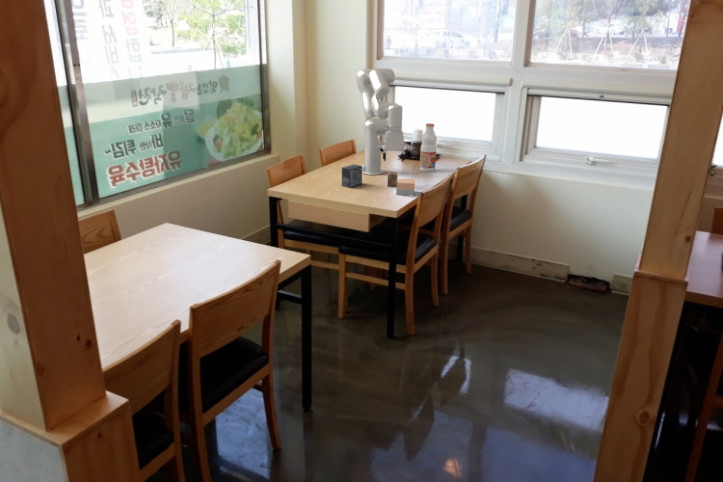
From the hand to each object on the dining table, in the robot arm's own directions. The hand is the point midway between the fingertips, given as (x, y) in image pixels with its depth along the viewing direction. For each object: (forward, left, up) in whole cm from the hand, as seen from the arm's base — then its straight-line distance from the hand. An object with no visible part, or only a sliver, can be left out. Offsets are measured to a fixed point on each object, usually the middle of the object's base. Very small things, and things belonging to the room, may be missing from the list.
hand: (393, 160), depth 320 cm
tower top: (+8, -13, -11) cm, 18 cm away
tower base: (+8, -12, -15) cm, 21 cm away
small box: (-22, -2, -14) cm, 27 cm away
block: (0, +1, -14) cm, 14 cm away
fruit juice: (+18, +41, -14) cm, 46 cm away
